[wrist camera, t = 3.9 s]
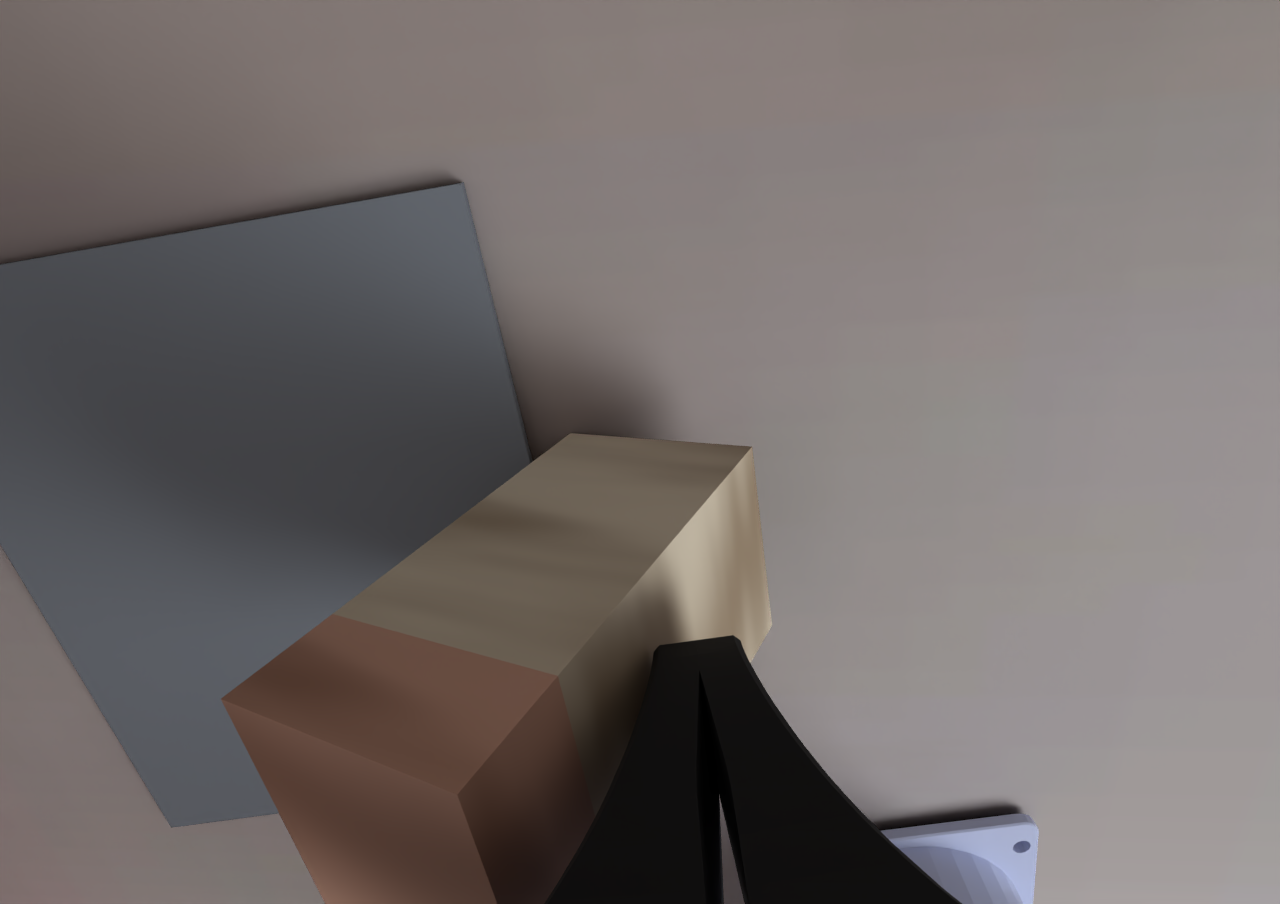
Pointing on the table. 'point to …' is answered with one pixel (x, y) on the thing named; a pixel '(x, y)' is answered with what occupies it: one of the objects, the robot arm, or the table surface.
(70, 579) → the mat
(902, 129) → the table surface
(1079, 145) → the table surface
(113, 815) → the table surface
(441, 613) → the tall block
